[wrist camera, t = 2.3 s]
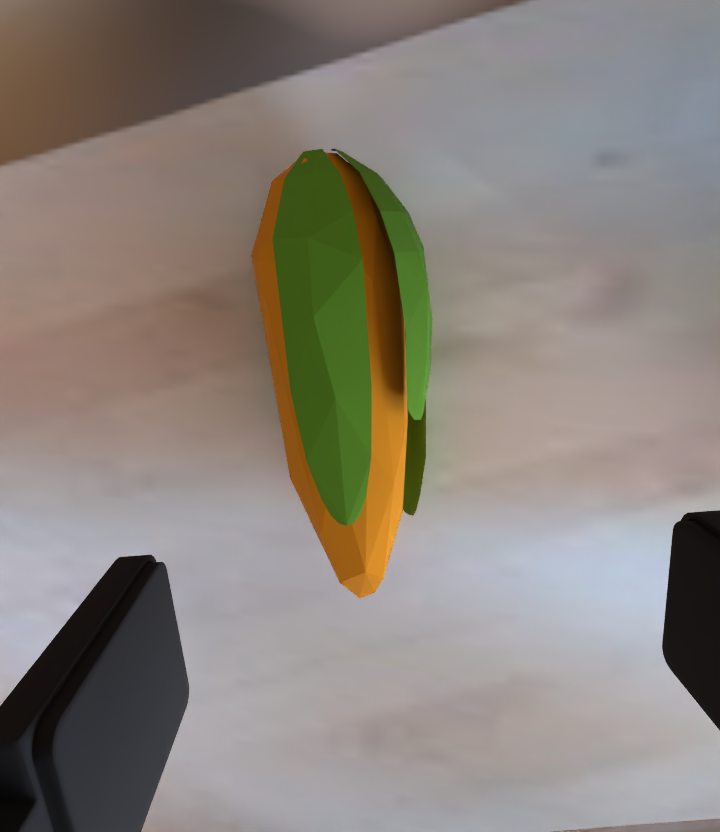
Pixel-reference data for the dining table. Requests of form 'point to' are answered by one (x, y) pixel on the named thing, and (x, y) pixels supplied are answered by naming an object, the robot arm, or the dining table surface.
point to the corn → (347, 353)
